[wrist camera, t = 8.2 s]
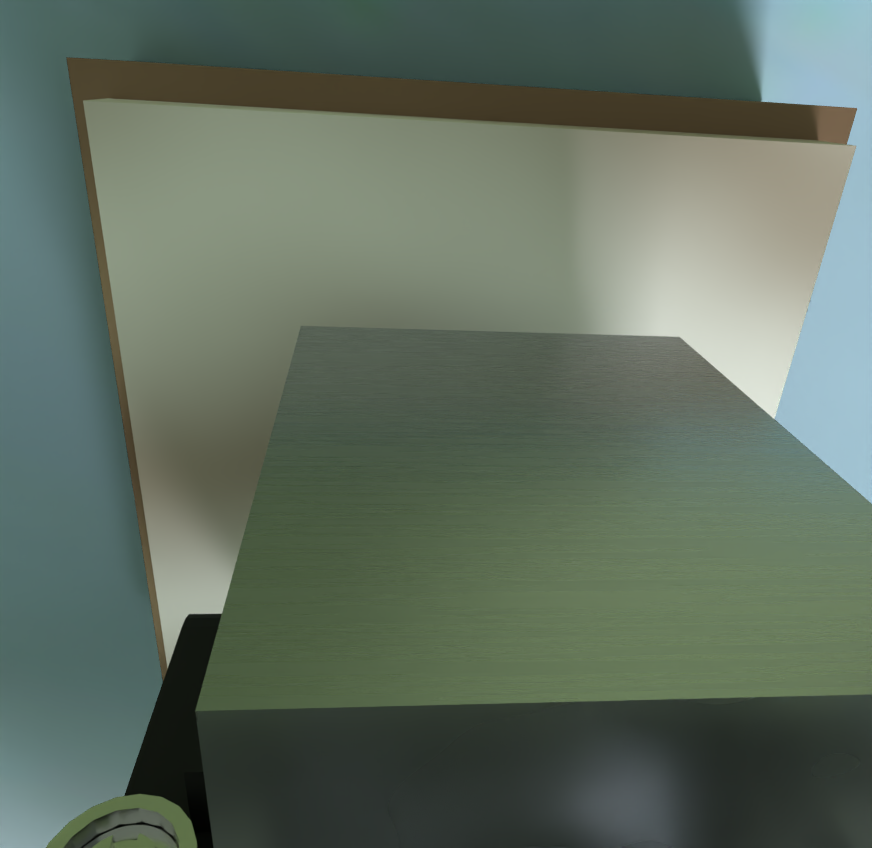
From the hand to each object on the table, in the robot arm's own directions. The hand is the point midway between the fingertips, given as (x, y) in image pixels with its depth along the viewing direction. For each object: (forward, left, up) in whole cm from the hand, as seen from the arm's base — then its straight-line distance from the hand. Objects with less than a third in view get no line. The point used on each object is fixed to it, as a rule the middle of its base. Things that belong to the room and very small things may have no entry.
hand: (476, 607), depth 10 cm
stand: (0, 0, -7) cm, 7 cm away
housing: (0, 0, -1) cm, 1 cm away
